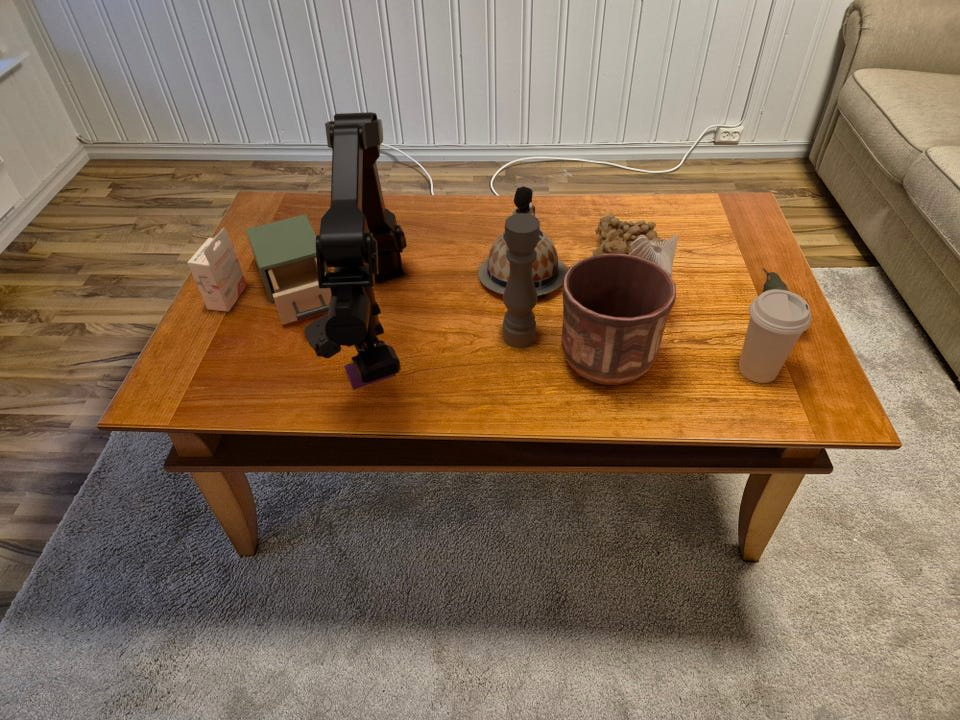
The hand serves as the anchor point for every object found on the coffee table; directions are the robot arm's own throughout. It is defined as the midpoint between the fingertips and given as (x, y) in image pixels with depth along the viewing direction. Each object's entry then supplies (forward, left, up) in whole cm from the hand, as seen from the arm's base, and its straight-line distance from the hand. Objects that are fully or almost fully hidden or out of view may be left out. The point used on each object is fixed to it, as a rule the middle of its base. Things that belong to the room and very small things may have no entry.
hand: (370, 371), depth 110 cm
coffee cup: (-63, +24, -6) cm, 68 cm away
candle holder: (-29, -2, -6) cm, 30 cm away
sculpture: (-78, +12, -6) cm, 79 cm away
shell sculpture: (-54, +2, -6) cm, 54 cm away
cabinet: (+5, -40, -6) cm, 41 cm away
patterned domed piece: (-38, -18, -6) cm, 43 cm away
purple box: (0, 0, -1) cm, 1 cm away
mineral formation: (-61, -14, -6) cm, 63 cm away
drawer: (+5, -28, -5) cm, 29 cm away
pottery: (-40, +11, -6) cm, 42 cm away
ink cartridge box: (+19, -38, -6) cm, 43 cm away
